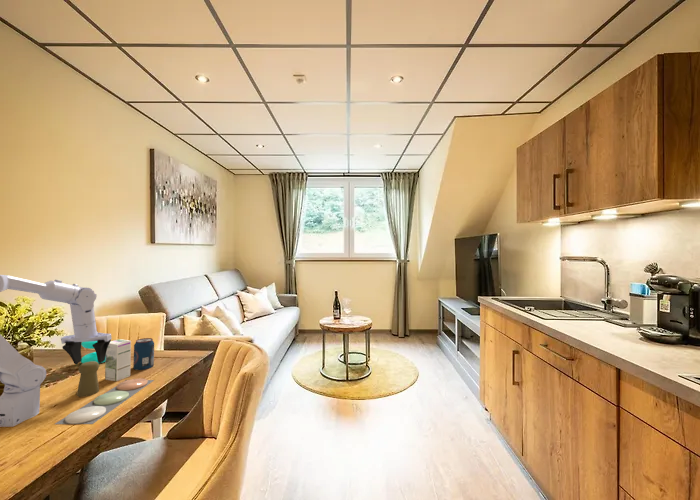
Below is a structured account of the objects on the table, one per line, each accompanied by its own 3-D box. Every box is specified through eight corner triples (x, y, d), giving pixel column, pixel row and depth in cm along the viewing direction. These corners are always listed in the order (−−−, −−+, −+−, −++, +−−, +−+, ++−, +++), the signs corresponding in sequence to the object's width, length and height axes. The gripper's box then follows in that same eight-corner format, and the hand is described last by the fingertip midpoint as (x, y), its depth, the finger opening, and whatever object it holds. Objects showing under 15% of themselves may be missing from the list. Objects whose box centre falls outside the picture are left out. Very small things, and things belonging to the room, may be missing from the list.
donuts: (116, 336, 141) (92, 342, 131) (116, 359, 140) (91, 367, 131) (100, 334, 143) (75, 340, 134) (99, 356, 143) (74, 364, 134)
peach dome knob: (137, 390, 108) (137, 388, 108) (110, 390, 107) (110, 388, 107) (152, 380, 117) (152, 378, 117) (127, 380, 116) (127, 378, 116)
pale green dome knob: (116, 405, 97) (116, 403, 97) (86, 405, 97) (86, 403, 97) (135, 392, 106) (135, 390, 106) (107, 392, 106) (107, 390, 106)
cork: (86, 400, 102) (87, 366, 102) (71, 398, 103) (72, 364, 103) (104, 392, 108) (105, 360, 108) (89, 391, 109) (90, 358, 109)
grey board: (92, 427, 87) (92, 423, 87) (54, 427, 86) (54, 424, 86) (154, 382, 117) (154, 380, 117) (125, 382, 116) (125, 380, 116)
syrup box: (131, 378, 120) (132, 339, 121) (115, 384, 115) (117, 343, 115) (119, 376, 122) (120, 338, 122) (103, 382, 116) (105, 342, 116)
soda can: (132, 368, 130) (132, 339, 130) (151, 365, 134) (152, 336, 135) (134, 374, 125) (135, 343, 125) (155, 370, 129) (156, 340, 129)
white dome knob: (90, 423, 87) (90, 421, 87) (56, 424, 86) (56, 421, 86) (113, 407, 96) (113, 405, 96) (82, 408, 95) (82, 406, 95)
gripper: (115, 317, 109) (120, 355, 111) (71, 319, 108) (76, 357, 110) (100, 325, 102) (106, 365, 104) (53, 327, 101) (59, 367, 103)
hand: (90, 362), depth 106 cm, fingers open, 7 cm apart
